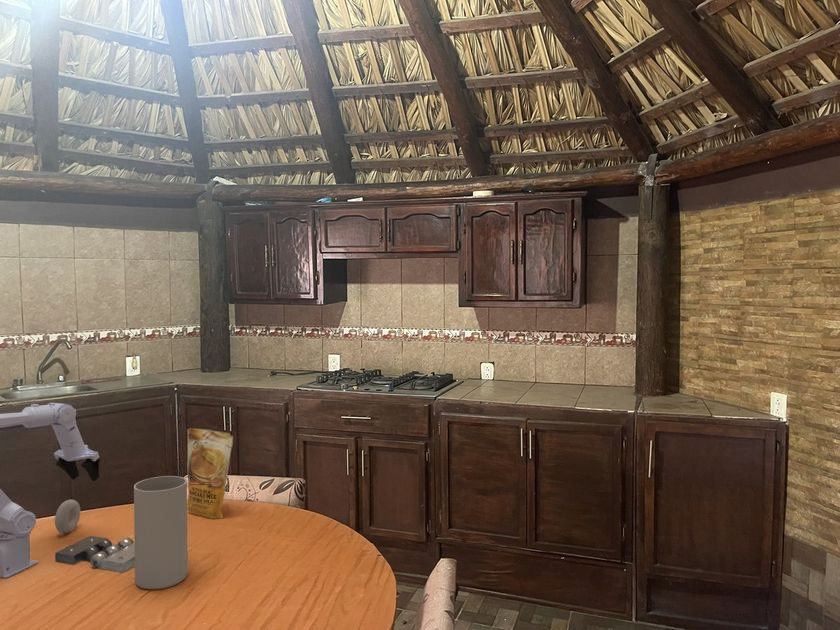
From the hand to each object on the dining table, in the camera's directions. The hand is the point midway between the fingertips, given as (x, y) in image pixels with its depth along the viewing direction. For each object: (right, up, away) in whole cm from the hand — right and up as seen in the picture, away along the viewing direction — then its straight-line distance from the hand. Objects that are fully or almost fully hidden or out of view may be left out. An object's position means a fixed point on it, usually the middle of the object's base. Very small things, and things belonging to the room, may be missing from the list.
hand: (85, 478), depth 181 cm
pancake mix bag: (+29, -18, +20) cm, 40 cm away
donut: (-8, -18, +4) cm, 20 cm away
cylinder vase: (+34, -19, -26) cm, 47 cm away
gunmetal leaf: (+7, -18, -12) cm, 23 cm away
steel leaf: (+19, -19, -15) cm, 30 cm away
